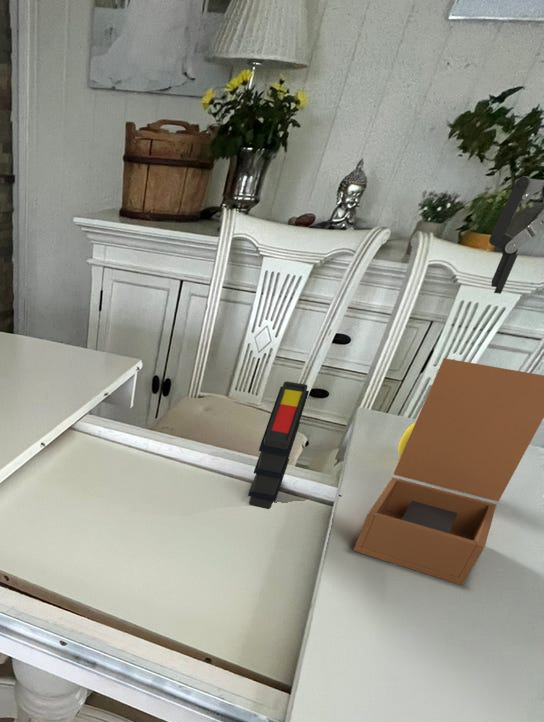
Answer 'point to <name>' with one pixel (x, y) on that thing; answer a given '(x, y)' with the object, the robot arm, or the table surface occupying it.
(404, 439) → the lemon
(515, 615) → the table surface
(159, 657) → the table surface
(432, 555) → the brown case base
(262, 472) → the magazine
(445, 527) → the dark grey block
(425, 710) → the table surface
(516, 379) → the case cover
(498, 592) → the table surface
